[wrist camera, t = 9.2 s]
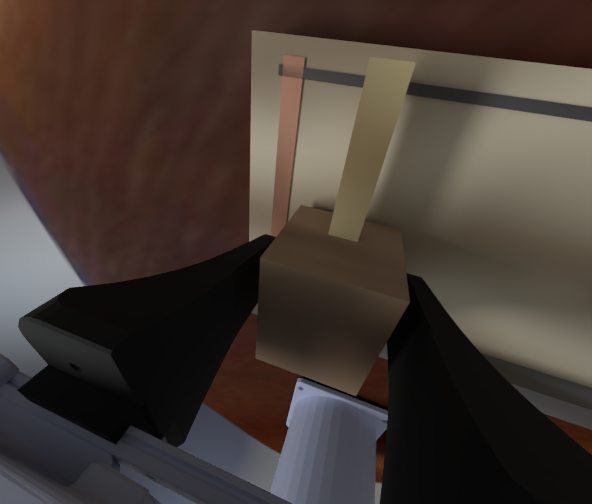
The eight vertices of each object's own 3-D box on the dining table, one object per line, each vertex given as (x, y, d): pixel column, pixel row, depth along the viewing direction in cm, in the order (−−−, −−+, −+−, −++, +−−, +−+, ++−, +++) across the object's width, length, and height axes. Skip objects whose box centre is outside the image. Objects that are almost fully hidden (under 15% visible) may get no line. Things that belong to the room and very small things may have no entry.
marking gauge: (363, 315, 12) (355, 396, 9) (288, 291, 13) (255, 358, 9) (467, 77, 6) (550, 58, 3) (322, 58, 7) (270, 27, 4)
